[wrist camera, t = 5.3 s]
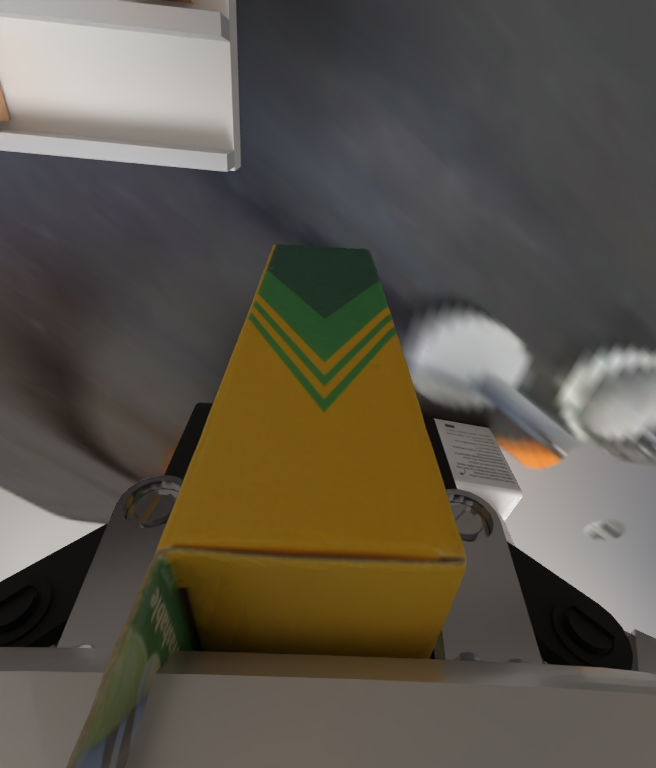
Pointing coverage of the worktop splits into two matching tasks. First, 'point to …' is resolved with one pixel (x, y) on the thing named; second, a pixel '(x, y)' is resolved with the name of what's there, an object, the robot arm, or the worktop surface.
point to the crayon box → (295, 501)
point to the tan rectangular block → (184, 0)
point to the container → (480, 466)
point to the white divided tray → (122, 81)
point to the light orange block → (3, 109)
